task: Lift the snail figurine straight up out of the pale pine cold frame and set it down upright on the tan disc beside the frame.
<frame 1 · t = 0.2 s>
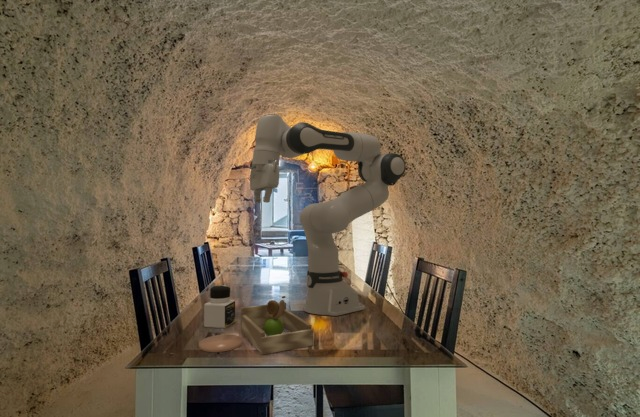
hand: (261, 202, 118), 39 cm above the table, tool pointing down, fingers open, 8 cm apart
cold frame: (275, 337, 99), on the table
medicine bottle: (220, 325, 112), on the table
tan disc: (220, 344, 94), on the table
snail figurine: (275, 338, 99), resting in cold frame
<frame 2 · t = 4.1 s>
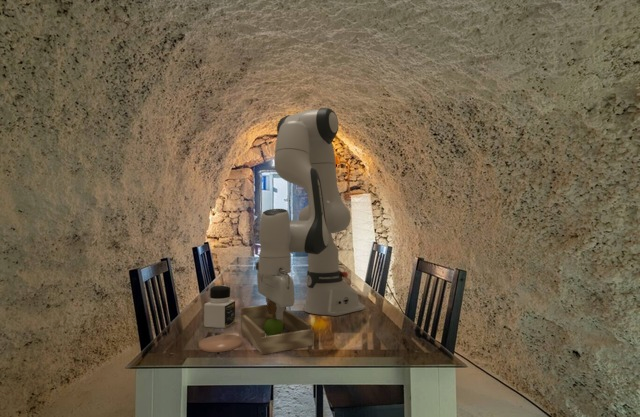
hand: (275, 315, 99), 6 cm above the table, tool pointing down, fingers closed on snail figurine, 5 cm apart
snail figurine: (275, 338, 99), resting in cold frame, touching gripper
everything else where it was.
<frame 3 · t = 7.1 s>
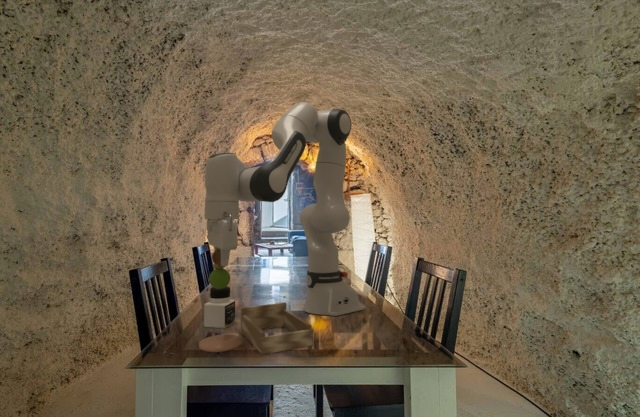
hand: (221, 264, 95), 21 cm above the table, tool pointing down, fingers closed on snail figurine, 4 cm apart
snail figurine: (221, 289, 94), point 15 cm above the table, touching gripper
everything else where it was.
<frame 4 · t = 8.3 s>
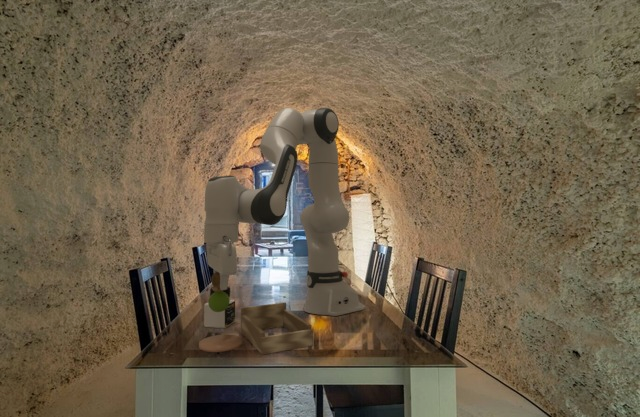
hand: (220, 287, 95), 15 cm above the table, tool pointing down, fingers closed on snail figurine, 4 cm apart
snail figurine: (220, 312, 94), point 9 cm above the table, touching gripper
everything else where it was.
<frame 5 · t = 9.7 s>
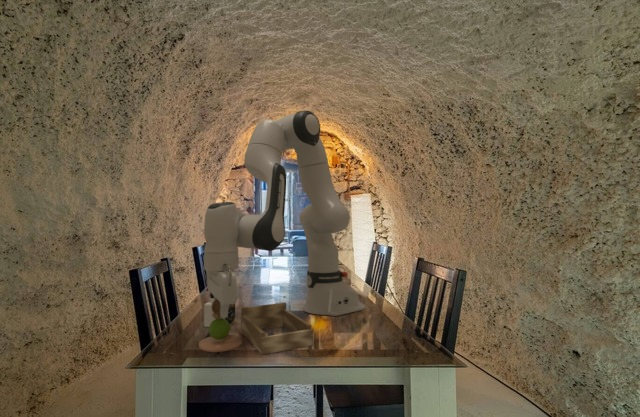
hand: (221, 314, 95), 8 cm above the table, tool pointing down, fingers closed on snail figurine, 4 cm apart
snail figurine: (221, 340, 94), point 1 cm above the table, touching gripper
everything else where it was.
when the fingers open (8 cm above the table, at t = 10.1 s): snail figurine stays where it is, resting on tan disc.
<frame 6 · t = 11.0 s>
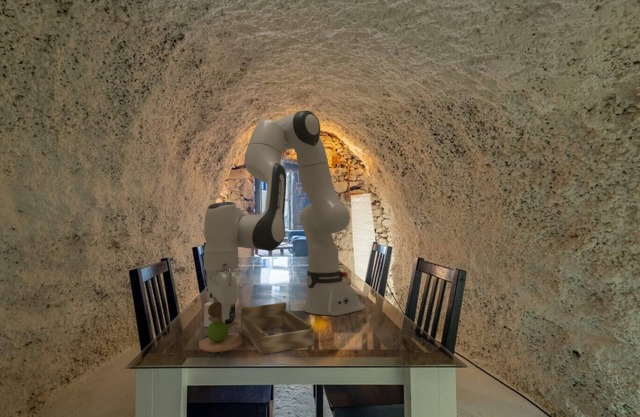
hand: (221, 314, 94), 8 cm above the table, tool pointing down, fingers open, 8 cm apart
snail figurine: (219, 342, 94), point 1 cm above the table, touching tan disc
everything else where it was.
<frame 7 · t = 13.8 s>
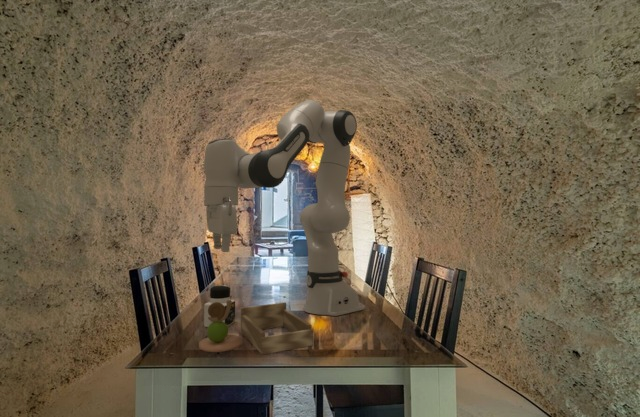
hand: (221, 250, 95), 25 cm above the table, tool pointing down, fingers open, 8 cm apart
nothing on the table moved.
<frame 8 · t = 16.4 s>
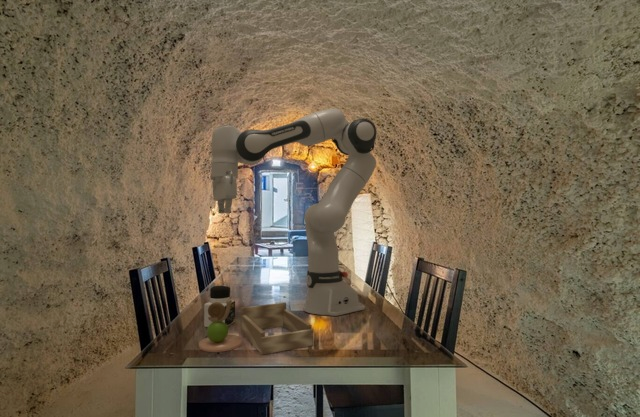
hand: (224, 213, 121), 35 cm above the table, tool pointing down, fingers open, 8 cm apart
nothing on the table moved.
at the end: snail figurine inside the target area on the tan disc (0.4 cm from its centre), point 0.6 cm above the tan disc's base; snail figurine tilted 0°; the gripper is holding nothing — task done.
